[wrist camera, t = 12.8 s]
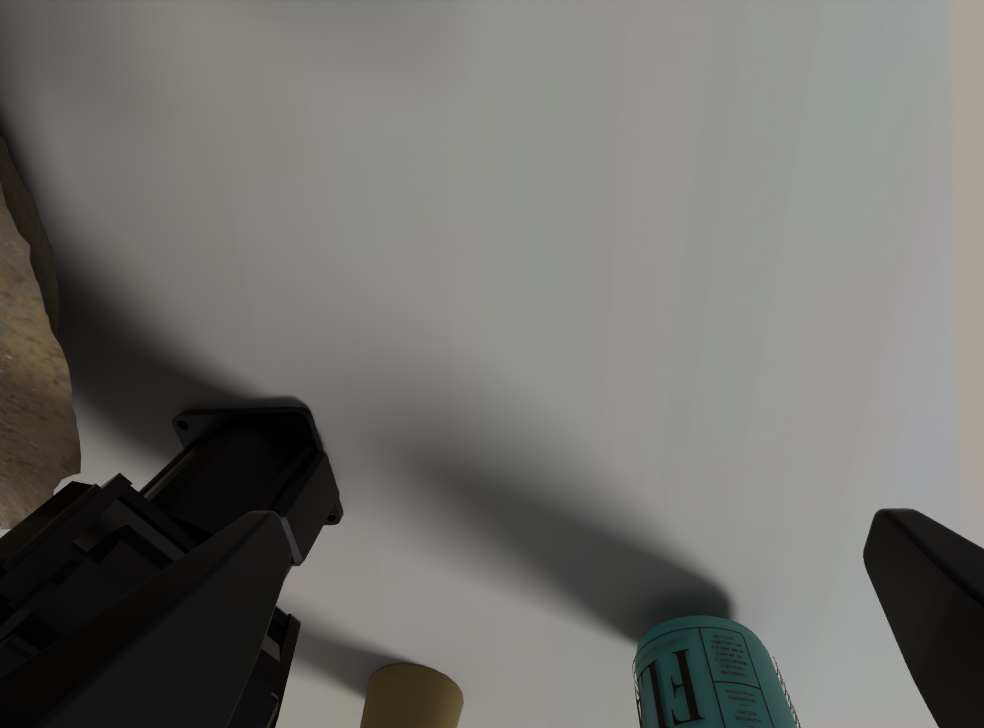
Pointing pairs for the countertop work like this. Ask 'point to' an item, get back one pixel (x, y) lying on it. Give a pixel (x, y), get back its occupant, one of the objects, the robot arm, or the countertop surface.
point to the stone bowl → (30, 360)
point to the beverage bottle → (708, 677)
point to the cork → (411, 699)
